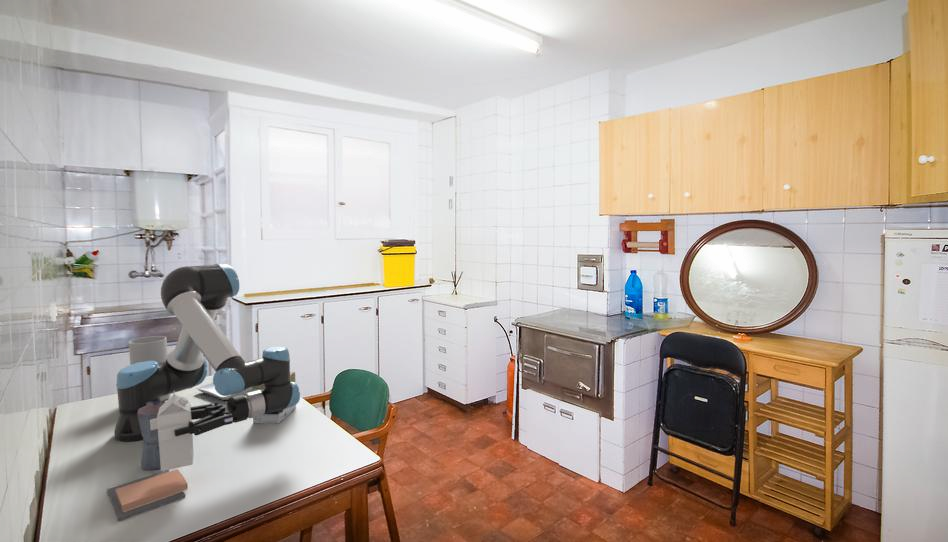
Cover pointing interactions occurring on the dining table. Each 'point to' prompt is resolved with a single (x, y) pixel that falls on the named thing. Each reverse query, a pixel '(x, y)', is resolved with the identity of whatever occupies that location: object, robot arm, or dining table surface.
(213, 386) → the salad plate
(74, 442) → the dining table surface
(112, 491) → the rubber mat
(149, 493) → the terracotta tile
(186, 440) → the milk carton
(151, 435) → the moka pot
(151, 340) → the cylinder vase
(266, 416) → the tea box
